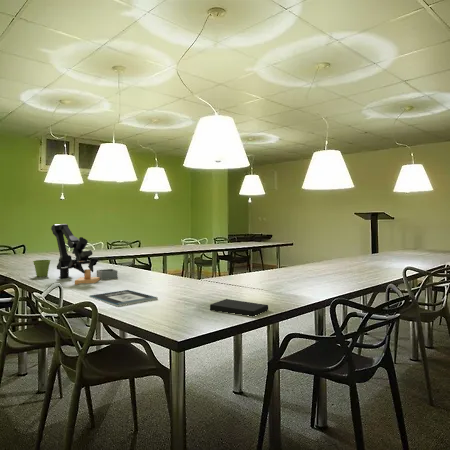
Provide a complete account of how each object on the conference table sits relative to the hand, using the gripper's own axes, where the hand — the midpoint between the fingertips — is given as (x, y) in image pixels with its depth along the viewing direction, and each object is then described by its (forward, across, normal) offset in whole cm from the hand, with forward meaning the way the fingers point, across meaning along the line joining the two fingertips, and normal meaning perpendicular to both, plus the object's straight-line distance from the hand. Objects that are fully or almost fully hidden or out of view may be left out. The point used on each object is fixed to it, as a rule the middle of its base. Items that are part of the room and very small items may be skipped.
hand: (88, 272), depth 253 cm
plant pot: (-31, -7, +41) cm, 52 cm away
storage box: (+2, +16, +8) cm, 18 cm away
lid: (+4, 0, +6) cm, 7 cm away
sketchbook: (+45, -12, -35) cm, 58 cm away
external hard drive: (+90, +7, -80) cm, 120 cm away
